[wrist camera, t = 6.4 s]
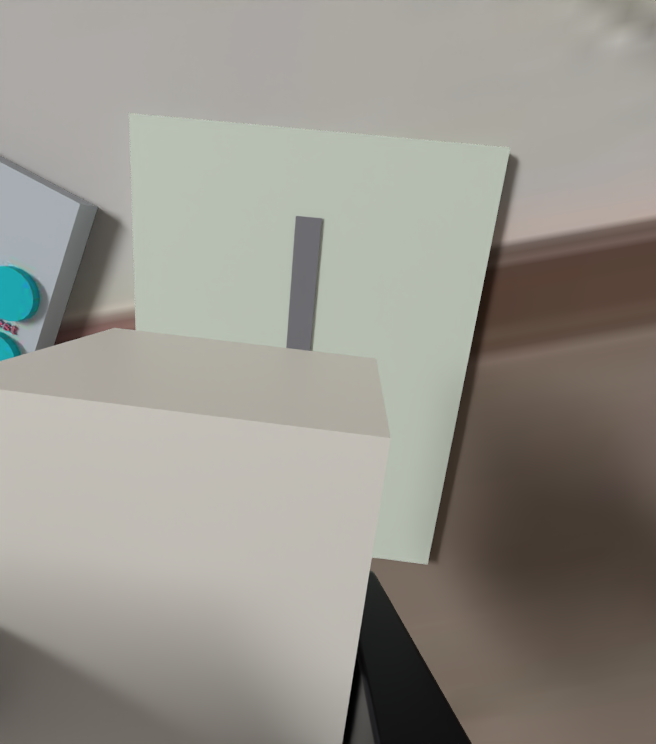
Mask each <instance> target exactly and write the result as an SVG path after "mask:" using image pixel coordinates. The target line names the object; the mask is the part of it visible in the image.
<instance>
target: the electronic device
mask: <svg viewBox="0 0 656 744" xmlns="http://www.w3.org/2000/svg"><path fill="white" fill-rule="evenodd" d="M97 209H98V207H97V206H95V205H93V204H91V203H89V202H87V201H85V200H83V199H81V198H79V197H77V196H76V195H74V194H72V193H70V192H68V191H66V190H64V189H62V188H60V187H58V186H56V185H55V184H53V183H51V182H49V181H47V180H45V179H43V178H41V177H39V176H37V175H35V174H34V173H32V172H30V171H28V170H26V169H24V168H22V167H20V166H18V165H16V164H14V163H13V162H11V161H9V160H7V159H5V158H3V157H1V156H0V361H2V360H6V359H9V358H13V357H16V356H20V355H23V354H27V353H30V352H34V351H37V350H40V349H44V348H47V347H51V346H54V343H55V340H56V337H57V334H58V331H59V328H60V324H61V321H62V318H63V315H64V312H65V309H66V306H67V303H68V299H69V296H70V293H71V290H72V287H73V284H74V281H75V277H76V274H77V271H78V268H79V265H80V262H81V259H82V256H83V252H84V249H85V246H86V243H87V240H88V237H89V234H90V230H91V227H92V224H93V221H94V218H95V215H96V212H97Z"/></svg>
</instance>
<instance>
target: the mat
mask: <svg viewBox="0 0 656 744" xmlns="http://www.w3.org/2000/svg"><path fill="white" fill-rule="evenodd" d="M129 134H130V166H131V197H132V229H133V261H134V293H135V324H136V331H145V332H154V333H162V334H171V335H179V336H188V337H196V338H205V339H213V340H222V341H230V342H239V343H247V344H256V345H265V346H273V347H282V348H290V349H299V350H307V351H316V352H324V353H333V354H341V355H350V356H358V357H367V358H376V360H377V366H378V371H379V377H380V382H381V388H382V393H383V399H384V404H385V410H386V415H387V421H388V426H389V432H390V437H391V439H390V446H389V452H388V458H387V465H386V471H385V477H384V483H383V490H382V496H381V502H380V509H379V515H378V521H377V528H376V534H375V540H374V546H373V553H372V557H374V558H382V559H389V560H397V561H404V562H412V563H420V564H427V565H428V560H429V555H430V550H431V545H432V540H433V535H434V530H435V525H436V520H437V515H438V509H439V504H440V499H441V494H442V489H443V484H444V479H445V474H446V469H447V464H448V459H449V454H450V449H451V444H452V439H453V434H454V429H455V424H456V419H457V414H458V409H459V404H460V399H461V394H462V389H463V384H464V379H465V374H466V369H467V364H468V359H469V354H470V349H471V344H472V338H473V333H474V328H475V323H476V318H477V313H478V308H479V303H480V298H481V293H482V288H483V283H484V278H485V273H486V268H487V263H488V258H489V253H490V248H491V243H492V238H493V233H494V228H495V223H496V218H497V213H498V208H499V203H500V198H501V193H502V188H503V183H504V178H505V173H506V168H507V162H508V157H509V152H510V147H500V146H489V145H478V144H467V143H456V142H445V141H434V140H423V139H412V138H400V137H389V136H378V135H367V134H356V133H345V132H334V131H323V130H312V129H301V128H290V127H279V126H267V125H256V124H245V123H234V122H223V121H212V120H201V119H190V118H179V117H168V116H157V115H146V114H134V113H129Z"/></svg>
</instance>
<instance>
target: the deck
mask: <svg viewBox="0 0 656 744" xmlns="http://www.w3.org/2000/svg"><path fill="white" fill-rule="evenodd" d="M390 439H391V437H390V432H389V426H388V421H387V415H386V410H385V404H384V399H383V393H382V388H381V382H380V377H379V371H378V366H377V360H376V358H367V357H358V356H350V355H341V354H333V353H324V352H316V351H307V350H299V349H290V348H282V347H273V346H265V345H256V344H247V343H239V342H230V341H222V340H213V339H205V338H196V337H188V336H179V335H171V334H162V333H154V332H145V331H136V330H128V329H119V328H113V329H109V330H106V331H103V332H99V333H96V334H92V335H89V336H85V337H82V338H78V339H75V340H71V341H68V342H65V343H61V344H58V345H54V346H51V347H47V348H44V349H40V350H37V351H34V352H30V353H27V354H23V355H20V356H16V357H13V358H9V359H6V360H2V361H0V744H342V742H343V735H344V729H345V723H346V717H347V710H348V704H349V698H350V691H351V685H352V679H353V672H354V666H355V660H356V654H357V647H358V641H359V635H360V628H361V622H362V616H363V609H364V603H365V597H366V591H367V584H368V578H369V572H370V565H371V559H372V553H373V546H374V540H375V534H376V528H377V521H378V515H379V509H380V502H381V496H382V490H383V483H384V477H385V471H386V465H387V458H388V452H389V446H390Z"/></svg>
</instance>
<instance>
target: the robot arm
mask: <svg viewBox="0 0 656 744" xmlns="http://www.w3.org/2000/svg"><path fill="white" fill-rule="evenodd" d="M342 744H472V743H471V742H470V740H469V738H468V736H467V735H466V733H465V731H464V729H463V728H462V726H461V724H460V722H459V721H458V719H457V717H456V715H455V714H454V712H453V710H452V708H451V707H450V705H449V703H448V701H447V700H446V698H445V696H444V694H443V693H442V691H441V689H440V687H439V686H438V684H437V682H436V680H435V679H434V677H433V675H432V673H431V671H430V670H429V668H428V666H427V664H426V663H425V661H424V659H423V657H422V656H421V654H420V652H419V650H418V649H417V647H416V645H415V643H414V642H413V640H412V638H411V636H410V635H409V633H408V631H407V629H406V628H405V626H404V624H403V622H402V621H401V619H400V617H399V615H398V614H397V612H396V610H395V608H394V607H393V605H392V603H391V601H390V600H389V598H388V596H387V594H386V593H385V591H384V589H383V587H382V586H381V584H380V582H379V580H378V579H377V577H376V575H375V574H374V572H372V571H370V572H369V578H368V584H367V591H366V597H365V603H364V609H363V616H362V622H361V628H360V635H359V641H358V647H357V654H356V660H355V666H354V672H353V679H352V685H351V691H350V698H349V704H348V710H347V717H346V723H345V729H344V735H343V742H342Z"/></svg>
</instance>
